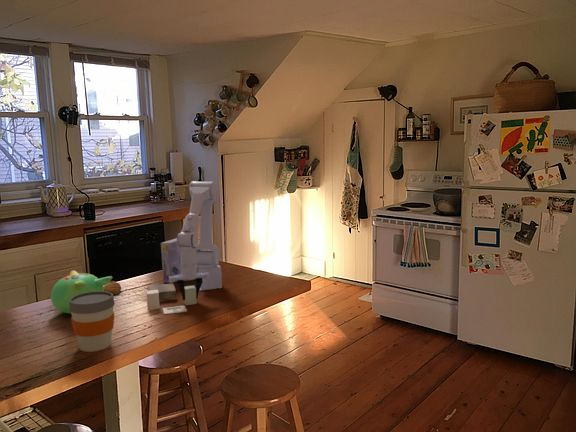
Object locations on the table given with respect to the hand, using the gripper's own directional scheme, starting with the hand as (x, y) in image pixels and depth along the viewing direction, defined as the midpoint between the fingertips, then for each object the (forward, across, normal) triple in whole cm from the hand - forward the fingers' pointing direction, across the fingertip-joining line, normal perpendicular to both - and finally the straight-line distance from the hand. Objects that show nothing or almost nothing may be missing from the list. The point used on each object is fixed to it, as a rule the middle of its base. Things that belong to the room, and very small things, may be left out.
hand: (190, 298), depth 184 cm
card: (+2, -6, -6) cm, 9 cm away
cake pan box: (+2, 0, +36) cm, 36 cm away
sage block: (+2, 0, 0) cm, 2 cm away
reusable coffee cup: (+2, -32, -28) cm, 43 cm away
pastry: (+2, -28, +26) cm, 38 cm away
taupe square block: (+2, -10, +11) cm, 15 cm away
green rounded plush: (+2, -38, +5) cm, 39 cm away
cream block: (+2, -14, 0) cm, 14 cm away
